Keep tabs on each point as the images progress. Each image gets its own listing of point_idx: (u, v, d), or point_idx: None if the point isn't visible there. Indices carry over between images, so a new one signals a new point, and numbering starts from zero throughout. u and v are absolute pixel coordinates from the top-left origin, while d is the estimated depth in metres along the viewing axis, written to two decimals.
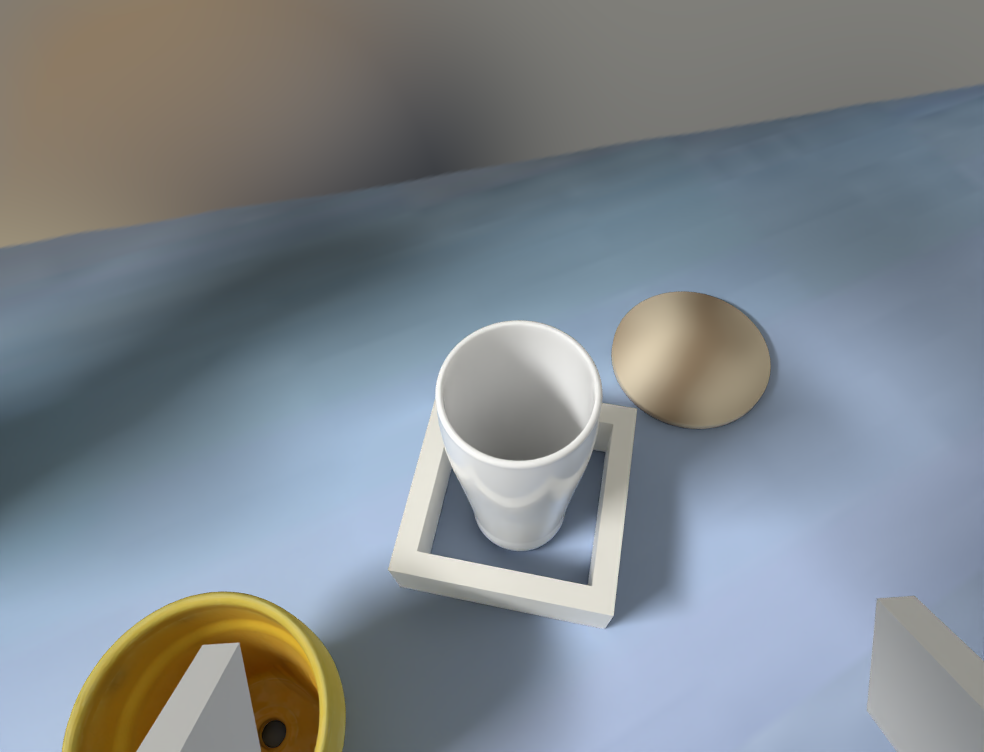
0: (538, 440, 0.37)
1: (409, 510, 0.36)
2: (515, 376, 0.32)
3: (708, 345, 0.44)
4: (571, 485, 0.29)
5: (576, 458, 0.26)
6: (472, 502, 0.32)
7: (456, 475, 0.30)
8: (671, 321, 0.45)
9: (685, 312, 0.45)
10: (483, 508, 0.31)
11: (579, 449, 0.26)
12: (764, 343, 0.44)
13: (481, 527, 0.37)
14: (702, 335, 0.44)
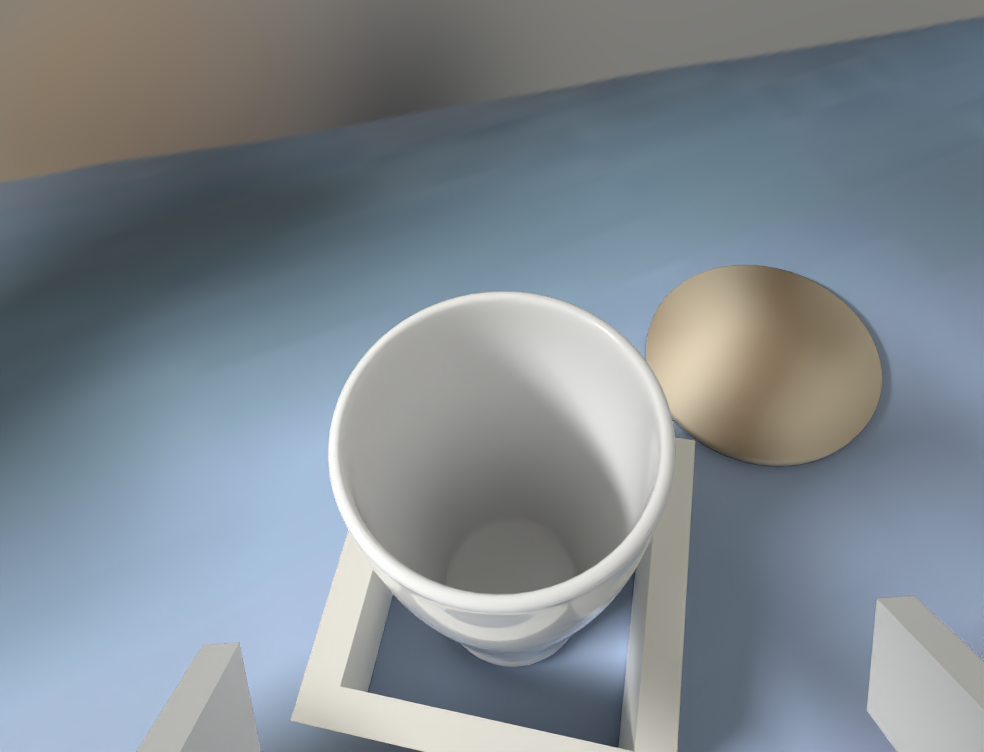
0: (540, 495, 0.23)
1: (331, 613, 0.22)
2: (500, 396, 0.18)
3: (787, 341, 0.30)
4: None
5: (622, 576, 0.13)
6: None
7: None
8: (731, 307, 0.31)
9: (751, 293, 0.31)
10: None
11: (630, 561, 0.12)
12: (869, 337, 0.30)
13: None
14: (777, 326, 0.30)
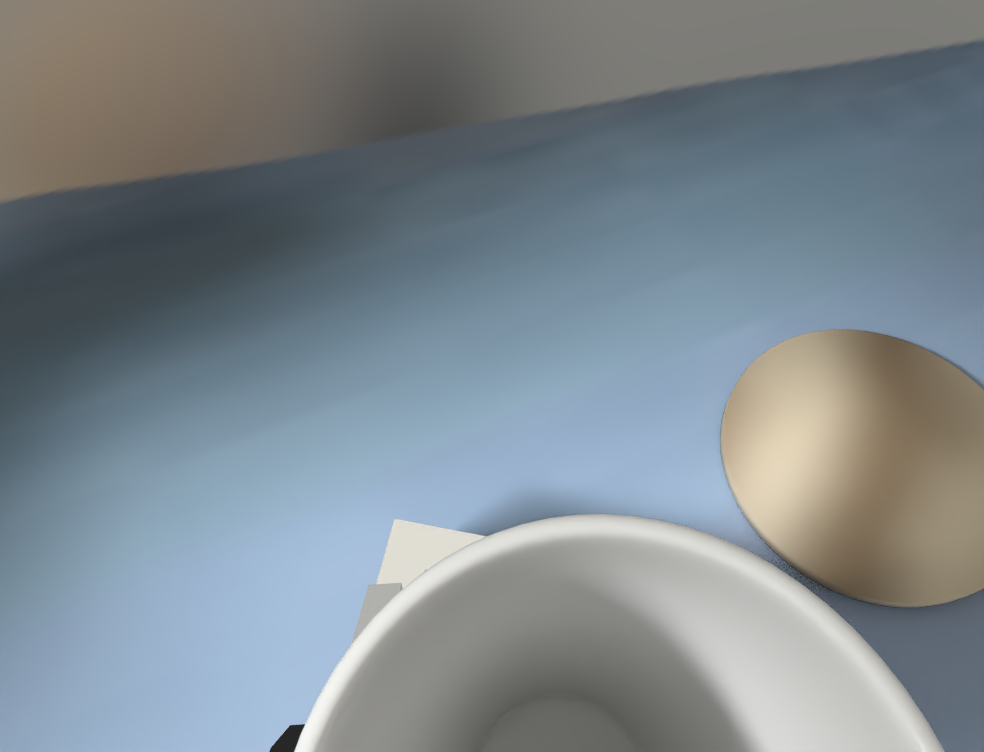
0: (605, 687, 0.16)
1: None
2: (567, 610, 0.11)
3: (905, 433, 0.23)
4: None
5: None
6: None
7: None
8: (829, 386, 0.24)
9: (853, 368, 0.25)
10: None
11: None
12: None
13: None
14: (891, 413, 0.24)
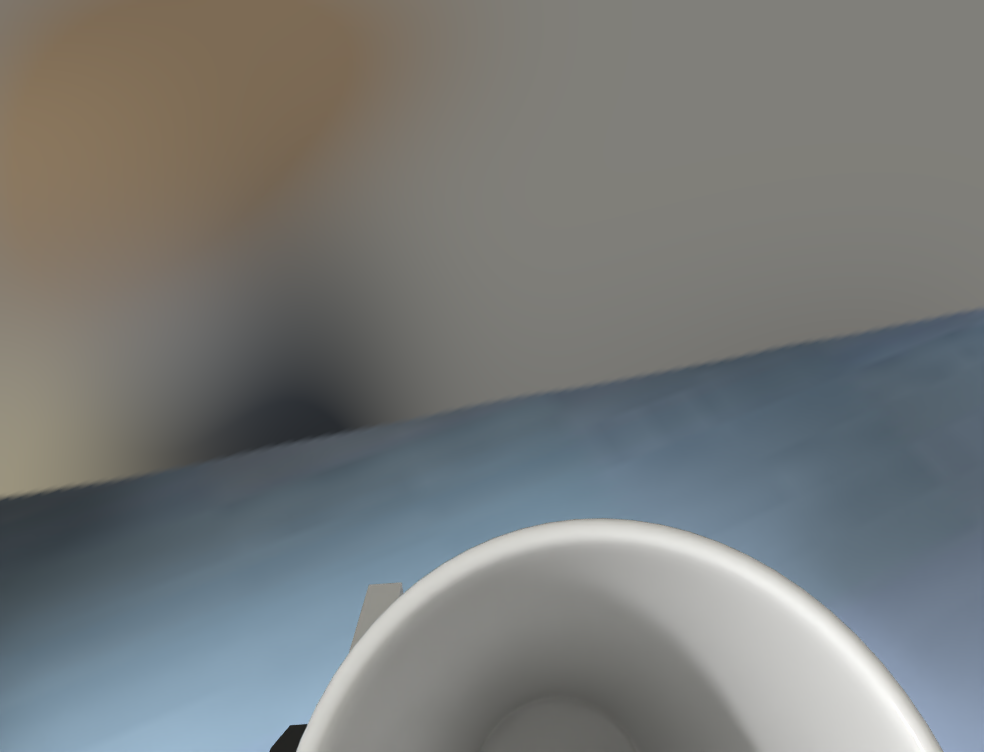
0: (606, 690, 0.16)
1: None
2: (568, 613, 0.11)
3: None
4: None
5: None
6: None
7: None
8: None
9: None
10: None
11: None
12: None
13: None
14: None
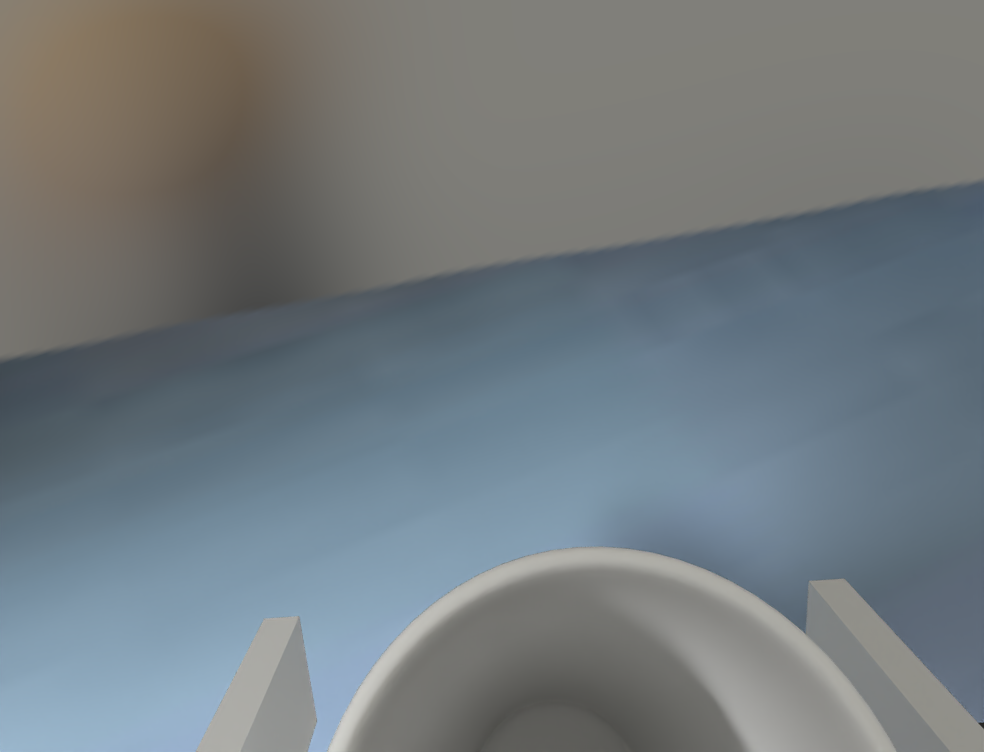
0: (601, 695, 0.17)
1: None
2: (566, 626, 0.12)
3: None
4: None
5: None
6: None
7: None
8: None
9: None
10: None
11: None
12: None
13: None
14: None
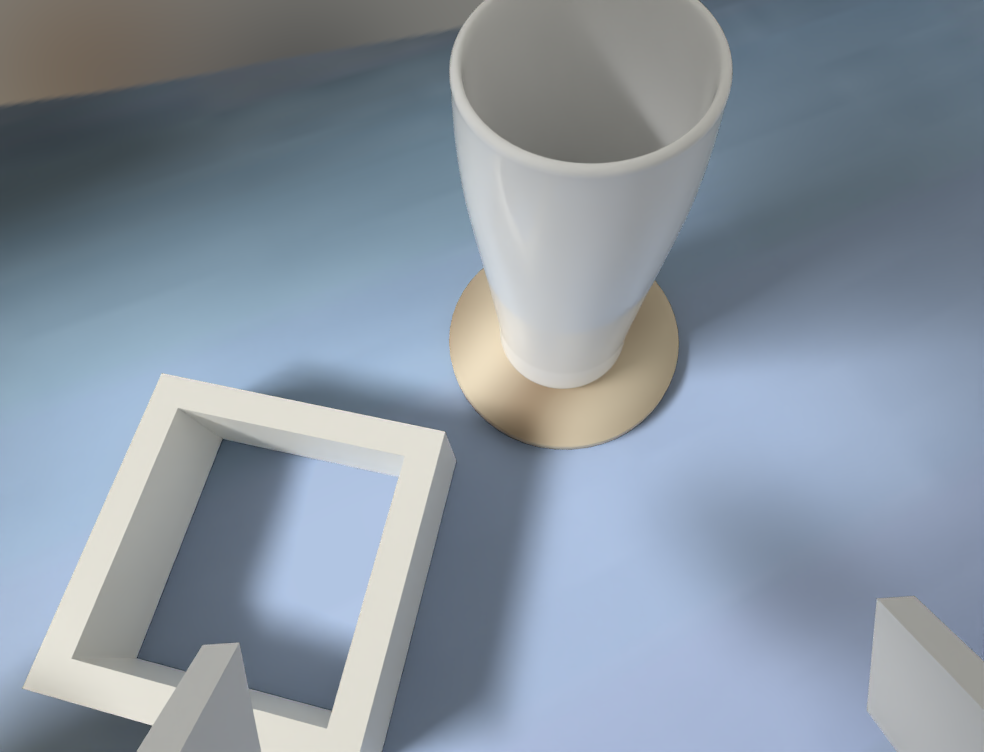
0: None
1: (73, 590, 0.23)
2: (571, 102, 0.21)
3: None
4: (660, 249, 0.18)
5: (683, 177, 0.16)
6: (502, 295, 0.22)
7: (480, 239, 0.20)
8: None
9: None
10: (519, 299, 0.21)
11: (692, 155, 0.15)
12: (673, 320, 0.30)
13: (511, 354, 0.27)
14: None
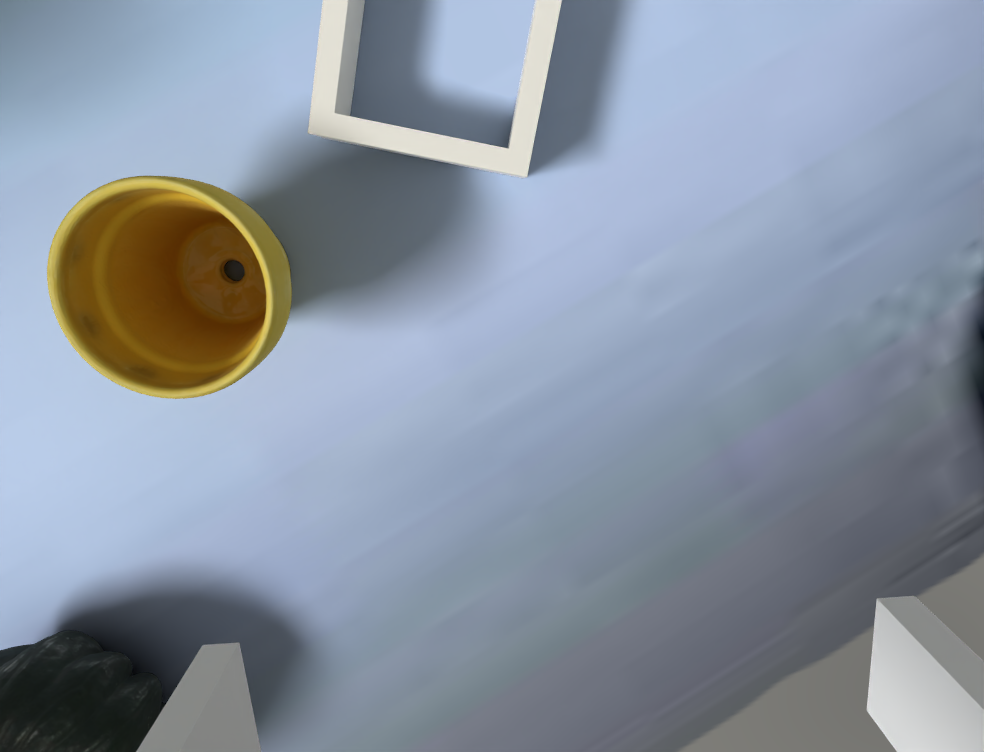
0: None
1: (320, 66, 0.34)
2: None
3: None
4: None
5: None
6: None
7: None
8: None
9: None
10: None
11: None
12: None
13: None
14: None
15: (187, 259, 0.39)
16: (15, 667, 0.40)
